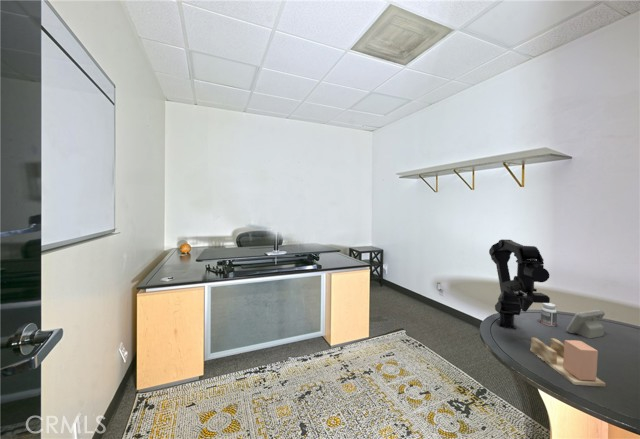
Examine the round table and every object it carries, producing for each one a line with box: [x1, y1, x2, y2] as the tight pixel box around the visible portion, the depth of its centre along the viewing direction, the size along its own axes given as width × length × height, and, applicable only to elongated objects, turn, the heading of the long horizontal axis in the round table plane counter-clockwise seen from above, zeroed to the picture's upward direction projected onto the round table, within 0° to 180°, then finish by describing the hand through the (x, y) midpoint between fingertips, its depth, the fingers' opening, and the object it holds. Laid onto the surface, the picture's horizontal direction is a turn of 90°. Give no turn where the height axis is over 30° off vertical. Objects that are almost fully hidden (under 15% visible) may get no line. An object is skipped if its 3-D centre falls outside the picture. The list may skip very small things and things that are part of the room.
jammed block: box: [563, 339, 599, 381], centre depth 84 cm, size 6×5×10 cm
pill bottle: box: [540, 302, 558, 327], centre depth 122 cm, size 6×6×10 cm
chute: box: [529, 337, 606, 387], centre depth 89 cm, size 19×9×6 cm, turn 175°
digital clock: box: [565, 309, 605, 339], centre depth 113 cm, size 16×9×11 cm, turn 93°
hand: (524, 311), depth 106 cm, fingers closed
